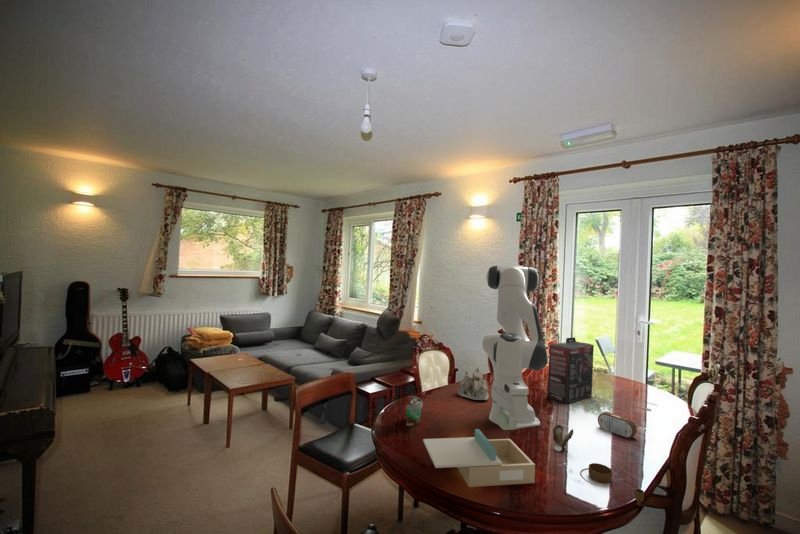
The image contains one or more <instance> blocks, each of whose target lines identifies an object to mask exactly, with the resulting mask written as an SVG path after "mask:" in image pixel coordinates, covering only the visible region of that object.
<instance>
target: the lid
mask: <svg viewBox="0 0 800 534" xmlns="http://www.w3.org/2000/svg"><path fill="white" fill-rule="evenodd" d="M488 439H489V438H487V437H486V436H485V435H484V433H483V432H482V431H481V430H480V428H475V429H474V436H472V437H471V436H470V437H469V436H468V437H467V436H466V437H443V438H441V437H440V438H423V439H422V443H423V444H424V447H425V448H426V452H428V455H429V457H430V459H431V462H432V463H433V465H434V468H435V469H441V468H442V469H443V468H457V467H467V466H488V465H502V462H501V460H500V459H499V458H498V457H497V456H496V449H495V448H494V446H493V445H492V444H491V443H490V442H489V440H488Z"/></svg>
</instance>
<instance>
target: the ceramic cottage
mask: <svg viewBox="0 0 800 534" xmlns="http://www.w3.org/2000/svg"><path fill="white" fill-rule="evenodd" d="M487 382H488V381H487V380H484V377H483V371H480V367H478V366H477V367H476V369H474V371H472V377H470V371H469V370H467V369H466V370H465V372H464V376H463V379H461V381H459V389H458V392H457V394H458V395H459V396H460V397H464V398H466V399H471V400H475V401H486V400H489V395H490V394H489V392H488V390H489V387H488V383H487Z"/></svg>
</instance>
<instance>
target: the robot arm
mask: <svg viewBox="0 0 800 534" xmlns="http://www.w3.org/2000/svg"><path fill="white" fill-rule="evenodd" d="M485 280H486V283H487V286H488V287H489V288H491V289H493V290H498V291H497V313H496V321H497V323H498V324H499V326H501V327H502V329H503V330H504V333H498V332H495V333H494V332H493V333H492V332H491V333H487V334H486V335H485V336H484V337H483V339H482V342H481V344H482V345H481V346H482V349H483V351H484V353H486V355H487V357H488V358H489V359H490V363H491V365H492V370H493V381H492V385H491V394H490V395H491V399H492V402H491V410H490V413H489V416H488V420H489V421H490V422H492V423H494V424H496V425H498V411H507V412H508V413H509V416H510V417H509V420H507V422H508V423H507V424H508V425H509V426H510V427H513V426H514V421H515V419H516V430H517V429H523V428H532V427H536V426H537V427H538V426H540V425H541V421H540V420H539V418H538V417H537V416H536V415H535V410H534V408H533V407H532V406H531V405H530V404H529V402H528V400H529V399H528V395H529V394H530V389H529V387H528V385H527V384H526V383H525V381H524V379H523V370H522V369H528V370H532V371H536V372H539V371H540V370H542V369H545V367H546V366H547V365H548V363H549V354H548V350H547V347H546V343H545V340H544V336H543V331H542V326H541V323H540V322H541V321H540V318H539V315H538V310H537V307H536V304H534V303H532V302H531V301H530V299H529V298H528V295H527V294H529V292H533V291H535V290H536V289H537V287H538V285H539V282H540V275H539V273H538V270H537V268H535V267H530V266H528V267H526V266H523V265H521V266H520V265H500V266H499V265H493V266H491V267H489V268H488V270H487V273H486V279H485ZM523 321H524V322H526V323H527V325H528V330H529V335H530V339H529V337H528V335H527V334H526V331H525V329H524V328H525V327H524V323H523Z"/></svg>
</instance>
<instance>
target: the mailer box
mask: <svg viewBox="0 0 800 534" xmlns="http://www.w3.org/2000/svg"><path fill="white" fill-rule="evenodd" d="M487 439H488V440H489V442H490V443H491V444H492V445H493V446H494V448H495V449H496V456H497V457H498V458H499V459H500V460H501V462H502V465H488V466H467V467H456V468H457V470H458V471H459V473H460V475H461V477H462V479H464V481H465V484H466V485H467V487H469V488H476V487H489V486H490V487H491V486H493V487H494V486H509V485H525V484H527V485H528V484H535V479H536V478H535V477H536V463H534V462H533V460H531V458H530V457H529V456H527V454H526V453H524V452H523V450H522V449H521V448H519V446H518V445H517V444H516V443H515V442H514V441H513V440H512V438H492V439H489V438H487Z"/></svg>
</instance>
